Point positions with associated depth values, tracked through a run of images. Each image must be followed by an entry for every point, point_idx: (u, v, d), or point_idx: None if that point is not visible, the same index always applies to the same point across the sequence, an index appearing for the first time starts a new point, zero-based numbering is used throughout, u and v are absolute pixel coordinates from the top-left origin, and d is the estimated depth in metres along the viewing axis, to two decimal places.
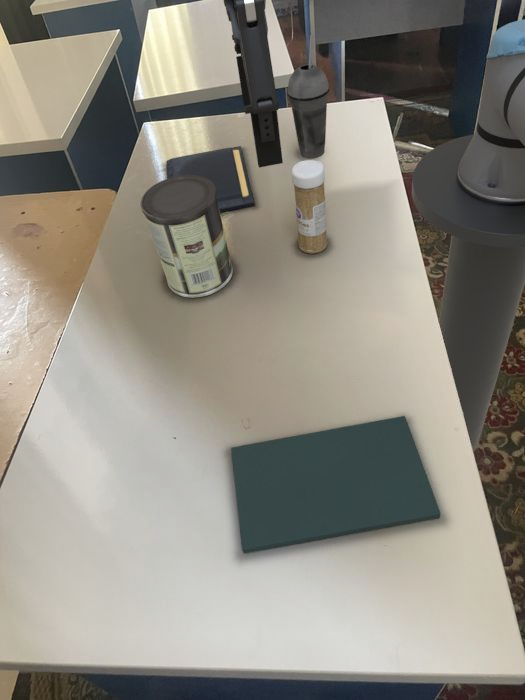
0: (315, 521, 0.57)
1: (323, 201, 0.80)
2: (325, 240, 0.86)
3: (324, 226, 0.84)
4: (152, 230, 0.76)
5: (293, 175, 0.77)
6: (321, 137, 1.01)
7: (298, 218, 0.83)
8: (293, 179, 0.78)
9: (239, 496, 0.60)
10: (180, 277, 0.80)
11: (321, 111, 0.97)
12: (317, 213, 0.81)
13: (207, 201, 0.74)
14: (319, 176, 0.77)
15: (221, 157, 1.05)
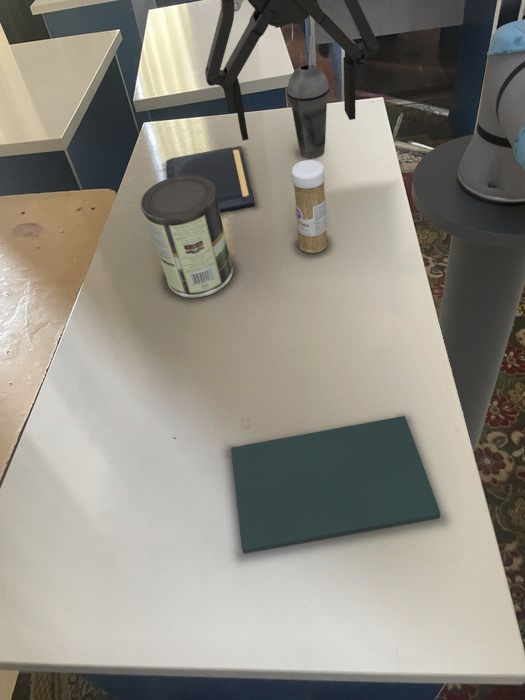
0: (315, 521, 0.57)
1: (323, 201, 0.80)
2: (325, 240, 0.86)
3: (324, 226, 0.84)
4: (152, 230, 0.76)
5: (293, 175, 0.77)
6: (321, 137, 1.01)
7: (298, 218, 0.83)
8: (293, 179, 0.78)
9: (239, 496, 0.60)
10: (180, 277, 0.80)
11: (321, 111, 0.97)
12: (317, 213, 0.81)
13: (207, 201, 0.74)
14: (319, 176, 0.77)
15: (221, 157, 1.05)
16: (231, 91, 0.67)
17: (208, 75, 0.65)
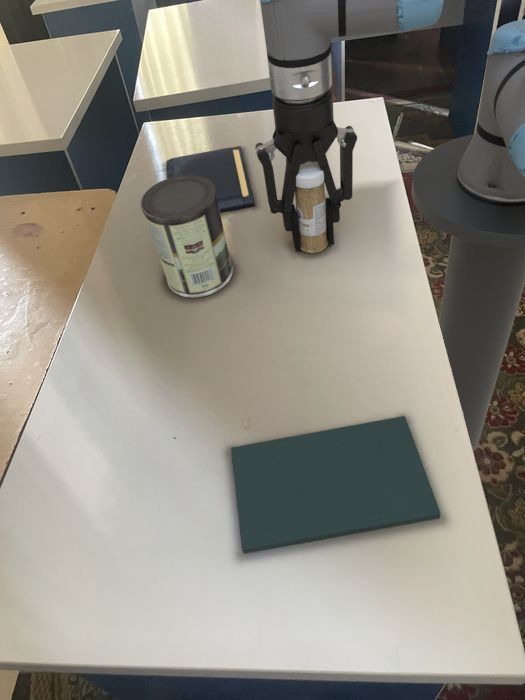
0: (315, 521, 0.57)
1: (323, 201, 0.80)
2: (325, 240, 0.86)
3: (324, 226, 0.84)
4: (152, 230, 0.76)
5: None
6: None
7: (298, 218, 0.83)
8: None
9: (239, 496, 0.60)
10: (180, 277, 0.80)
11: None
12: (317, 213, 0.81)
13: (207, 201, 0.74)
14: (319, 176, 0.77)
15: (221, 157, 1.05)
16: (289, 216, 0.82)
17: (270, 208, 0.80)
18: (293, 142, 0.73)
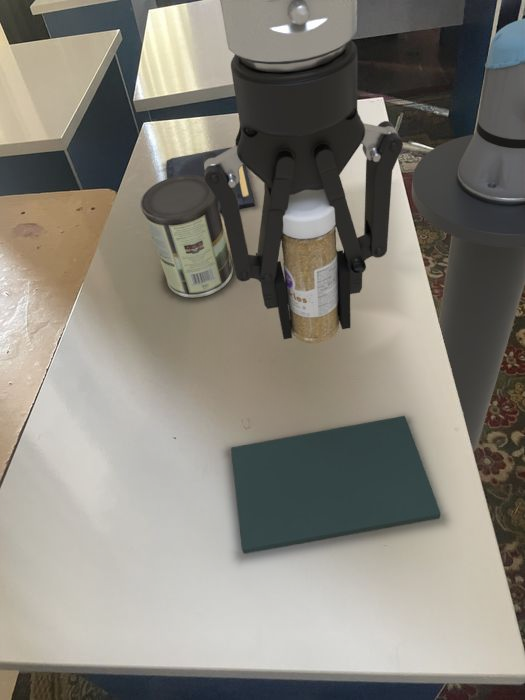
0: (315, 521, 0.57)
1: (333, 259, 0.44)
2: (335, 321, 0.49)
3: (334, 300, 0.47)
4: (152, 230, 0.76)
5: None
6: None
7: (288, 286, 0.46)
8: None
9: (239, 496, 0.60)
10: (180, 277, 0.80)
11: None
12: (321, 280, 0.44)
13: (207, 201, 0.74)
14: (326, 217, 0.40)
15: None
16: (271, 284, 0.46)
17: (236, 272, 0.44)
18: (276, 152, 0.37)
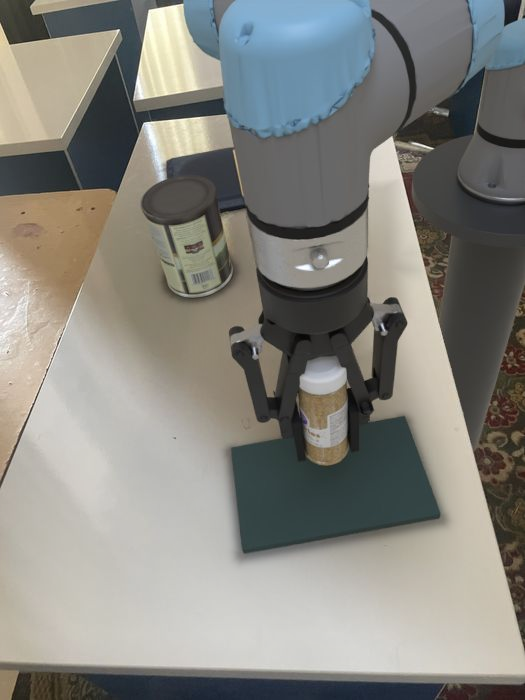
0: (315, 521, 0.57)
1: (344, 403, 0.48)
2: (345, 445, 0.54)
3: (345, 432, 0.52)
4: (152, 230, 0.76)
5: None
6: None
7: (303, 422, 0.51)
8: None
9: (239, 496, 0.60)
10: (180, 277, 0.80)
11: None
12: (334, 421, 0.49)
13: (207, 201, 0.74)
14: (339, 378, 0.45)
15: (221, 157, 1.05)
16: (288, 421, 0.50)
17: (257, 416, 0.48)
18: (295, 334, 0.41)
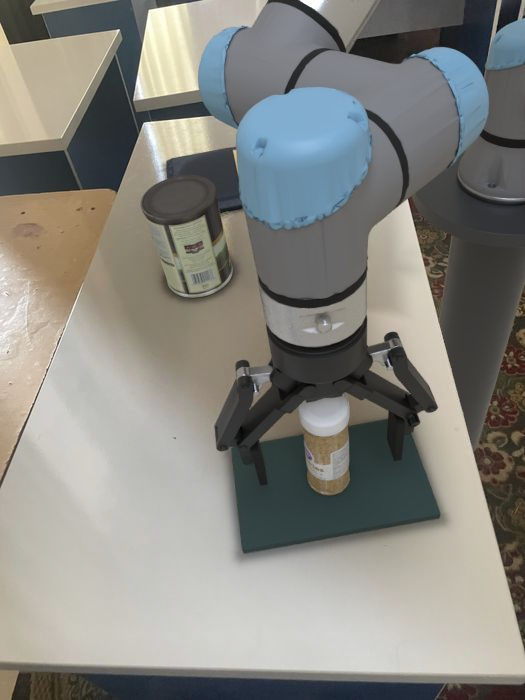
0: (315, 521, 0.57)
1: (346, 442, 0.53)
2: (347, 477, 0.58)
3: (346, 466, 0.56)
4: (152, 230, 0.76)
5: (301, 416, 0.50)
6: None
7: (308, 458, 0.55)
8: (301, 420, 0.51)
9: (239, 496, 0.60)
10: (180, 277, 0.80)
11: None
12: (336, 458, 0.53)
13: (207, 201, 0.74)
14: (341, 422, 0.49)
15: (221, 157, 1.05)
16: (247, 449, 0.53)
17: (218, 444, 0.51)
18: None
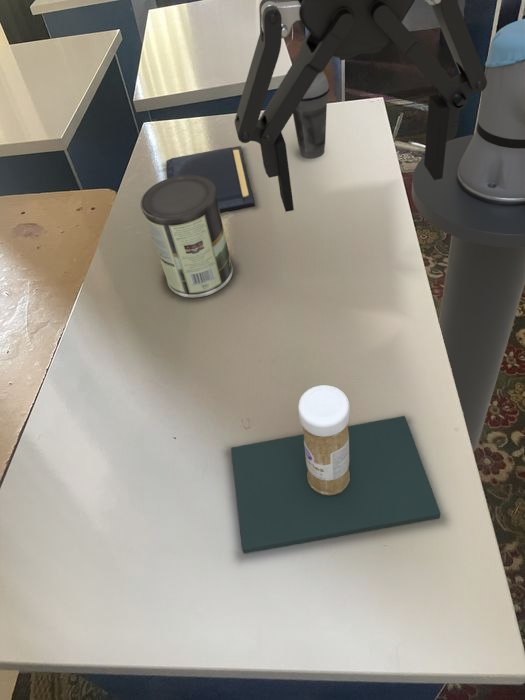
0: (315, 521, 0.57)
1: (346, 442, 0.53)
2: (347, 477, 0.58)
3: (346, 466, 0.56)
4: (152, 230, 0.76)
5: (301, 416, 0.50)
6: (321, 137, 1.01)
7: (308, 458, 0.55)
8: (301, 420, 0.51)
9: (239, 496, 0.60)
10: (180, 277, 0.80)
11: (321, 111, 0.97)
12: (336, 458, 0.53)
13: (207, 201, 0.74)
14: (341, 422, 0.49)
15: (221, 157, 1.05)
16: (272, 148, 0.47)
17: (240, 129, 0.45)
18: (340, 8, 0.39)
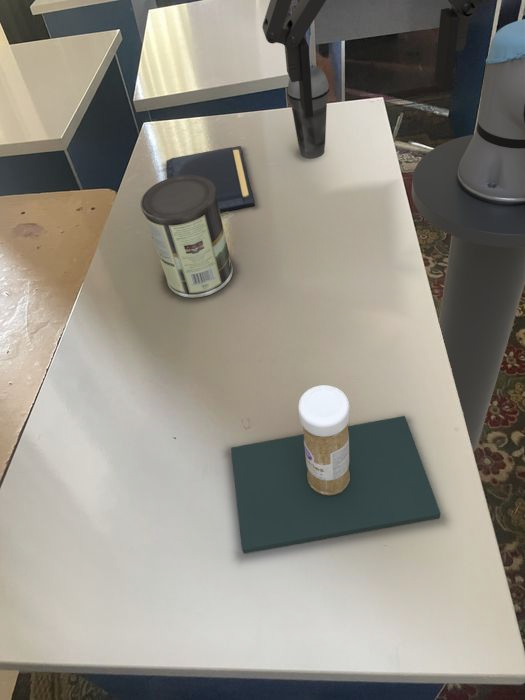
0: (315, 521, 0.57)
1: (346, 442, 0.53)
2: (347, 477, 0.58)
3: (346, 466, 0.56)
4: (152, 230, 0.76)
5: (301, 416, 0.50)
6: (321, 137, 1.01)
7: (308, 458, 0.55)
8: (301, 420, 0.51)
9: (239, 496, 0.60)
10: (180, 277, 0.80)
11: (321, 111, 0.97)
12: (336, 458, 0.53)
13: (207, 201, 0.74)
14: (341, 422, 0.49)
15: (221, 157, 1.05)
16: (296, 52, 0.51)
17: (269, 29, 0.49)
18: None
